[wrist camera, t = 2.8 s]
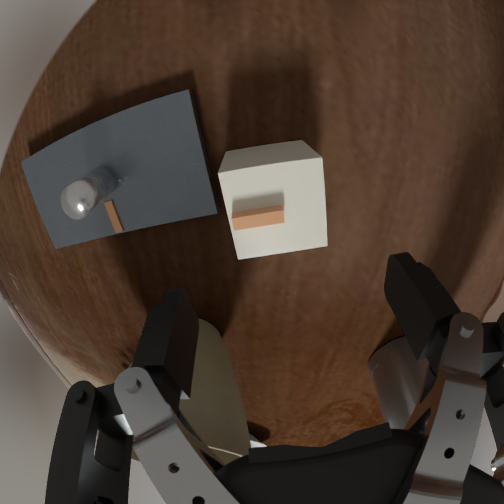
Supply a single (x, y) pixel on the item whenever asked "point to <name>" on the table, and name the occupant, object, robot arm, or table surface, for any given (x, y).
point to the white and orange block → (274, 198)
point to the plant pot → (214, 399)
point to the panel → (124, 173)
